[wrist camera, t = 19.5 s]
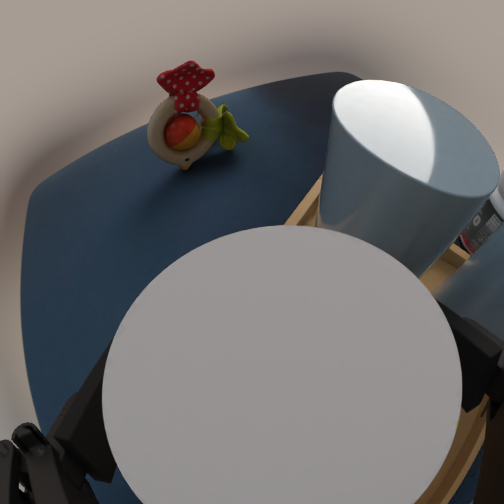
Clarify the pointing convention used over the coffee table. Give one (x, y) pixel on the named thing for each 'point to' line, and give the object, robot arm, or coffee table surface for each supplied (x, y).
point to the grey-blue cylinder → (479, 286)
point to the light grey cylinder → (282, 376)
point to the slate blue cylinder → (403, 171)
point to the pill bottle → (485, 219)
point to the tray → (469, 423)
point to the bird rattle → (189, 118)
